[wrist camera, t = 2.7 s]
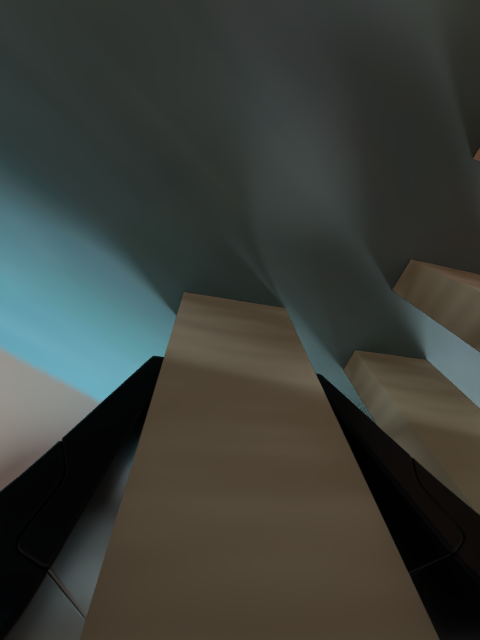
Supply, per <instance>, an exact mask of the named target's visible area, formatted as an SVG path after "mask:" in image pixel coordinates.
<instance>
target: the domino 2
mask: <svg viewBox="0 0 480 640" xmlns="http://www.w3.org/2000/svg"><path fill="white" fill-rule="evenodd" d="M392 291H394V292H395V293H396V294H398V295H399V296H401V297H402V298H403V299H405V300H406V301H408V302H409V303H411V304H412V305H413V306H415V307H416V308H418V309H419V310H421V311H422V312H423V313H425V314H426V315H428V316H429V317H430V318H432V319H433V320H435V321H436V322H438V323H439V324H440V325H442V326H443V327H445V328H446V329H448V330H449V331H450V332H452V333H453V334H455V335H456V336H457V337H459V338H460V339H462V340H463V341H465V342H466V343H467V344H469V345H470V346H472V347H473V348H475V349H476V350H477V351H479V352H480V274H476V273H471V272H467V271H462V270H458V269H453V268H448V267H444V266H439V265H435V264H430V263H426V262H421V261H416V260H412V259H411V260H410V262H409V263H408V265H407V267H406V268H405V270H404V272H403V273H402V275H401V277H400V278H399V280H398V281H397V283H396V285H395V286H394V288H393V290H392Z"/></svg>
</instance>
